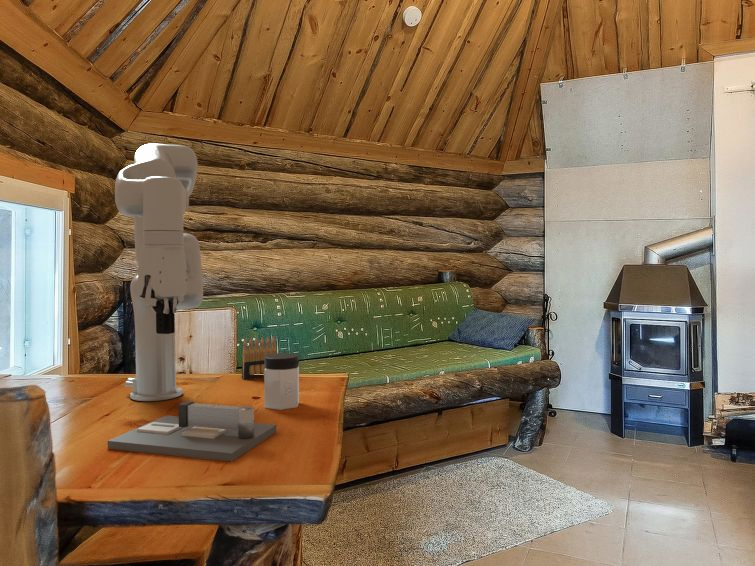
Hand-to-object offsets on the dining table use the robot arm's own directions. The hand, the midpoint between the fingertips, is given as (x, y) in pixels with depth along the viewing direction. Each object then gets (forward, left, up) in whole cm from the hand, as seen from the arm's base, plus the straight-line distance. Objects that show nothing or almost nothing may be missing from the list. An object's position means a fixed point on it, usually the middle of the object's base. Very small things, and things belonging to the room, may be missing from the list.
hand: (165, 333), depth 119 cm
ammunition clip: (-8, +56, -21) cm, 61 cm away
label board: (+7, -1, -21) cm, 22 cm away
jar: (+12, +28, -21) cm, 37 cm away
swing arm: (+12, -1, -19) cm, 22 cm away
